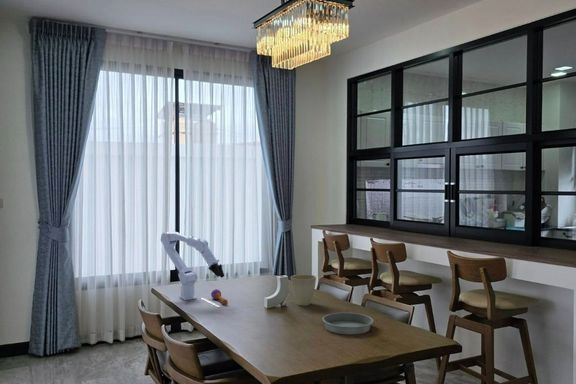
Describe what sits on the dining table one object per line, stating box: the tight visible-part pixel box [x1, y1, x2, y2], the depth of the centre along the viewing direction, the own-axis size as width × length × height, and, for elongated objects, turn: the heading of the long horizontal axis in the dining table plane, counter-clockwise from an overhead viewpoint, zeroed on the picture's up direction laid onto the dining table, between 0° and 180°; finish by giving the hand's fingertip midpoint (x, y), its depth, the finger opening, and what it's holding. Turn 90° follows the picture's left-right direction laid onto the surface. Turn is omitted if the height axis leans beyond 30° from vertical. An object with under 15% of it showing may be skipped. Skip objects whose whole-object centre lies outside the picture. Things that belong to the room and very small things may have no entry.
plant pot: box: [290, 274, 317, 307], centre depth 281 cm, size 15×15×16 cm
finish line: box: [200, 297, 221, 308], centre depth 286 cm, size 26×2×1 cm, turn 32°
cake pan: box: [321, 312, 374, 335], centre depth 235 cm, size 25×25×4 cm
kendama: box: [210, 288, 229, 306], centre depth 289 cm, size 6×6×20 cm
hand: (221, 276), depth 285 cm, fingers open, 7 cm apart
